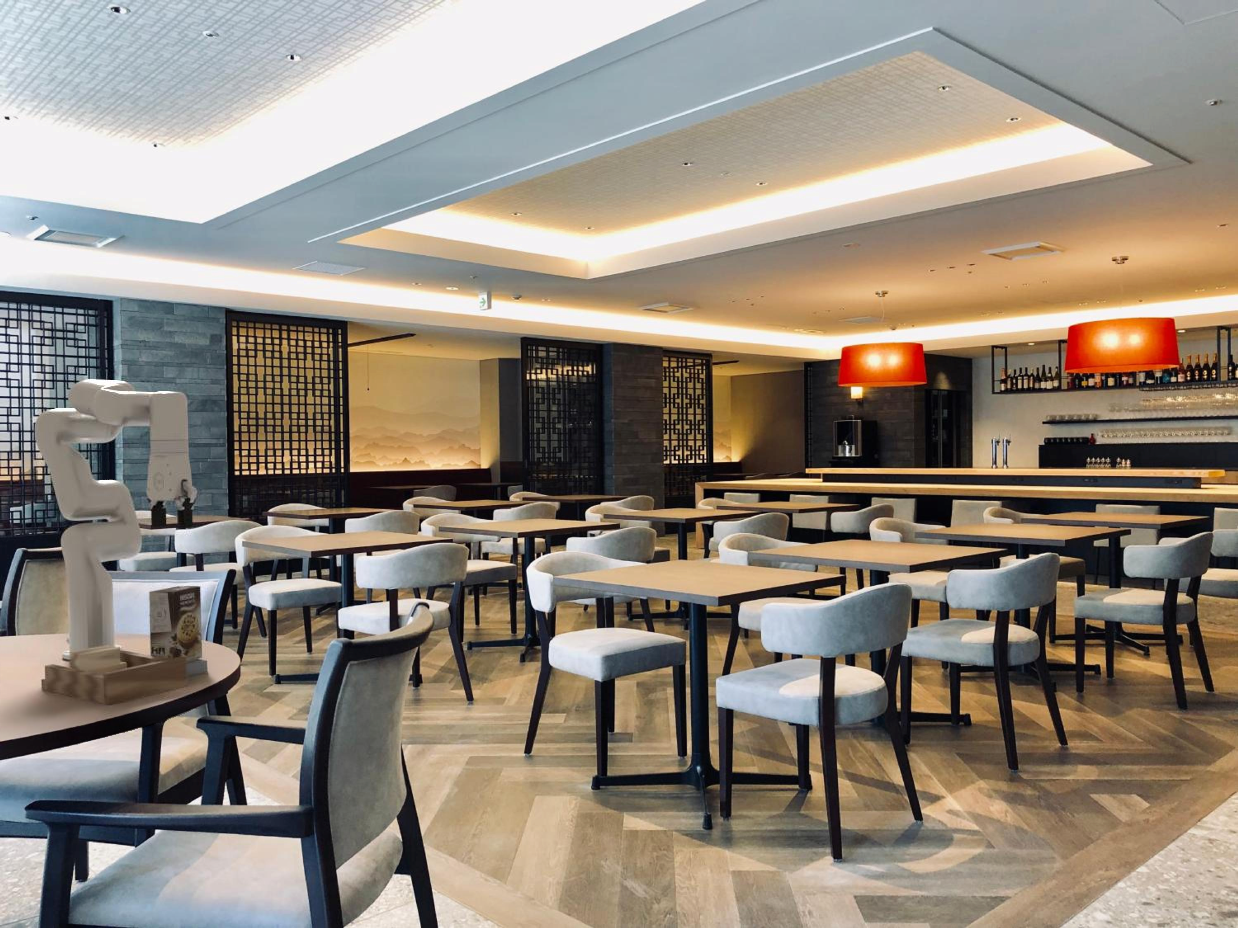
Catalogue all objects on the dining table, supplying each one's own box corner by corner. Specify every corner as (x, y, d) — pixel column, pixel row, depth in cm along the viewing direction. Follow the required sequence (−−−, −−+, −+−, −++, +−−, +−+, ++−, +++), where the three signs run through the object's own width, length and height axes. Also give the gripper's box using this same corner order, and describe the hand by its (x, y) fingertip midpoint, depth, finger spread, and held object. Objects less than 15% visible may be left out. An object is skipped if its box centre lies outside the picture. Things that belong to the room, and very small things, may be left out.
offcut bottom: (64, 688, 202) (64, 669, 202) (111, 678, 210) (110, 659, 210) (80, 692, 198) (79, 672, 198) (127, 681, 207) (126, 662, 207)
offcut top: (70, 668, 202) (69, 651, 202) (109, 660, 209) (109, 644, 209) (80, 671, 199) (79, 654, 199) (120, 664, 206) (119, 647, 205)
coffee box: (175, 667, 207) (172, 591, 206) (149, 665, 208) (147, 591, 208) (204, 657, 215) (201, 585, 215) (179, 656, 217) (177, 584, 217)
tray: (41, 688, 200) (40, 659, 200) (119, 671, 214) (118, 644, 214) (108, 705, 187) (107, 674, 186) (187, 685, 200) (186, 657, 200)
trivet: (146, 674, 211) (146, 662, 211) (180, 666, 218) (180, 655, 218) (173, 679, 206) (173, 667, 206) (207, 671, 213) (207, 660, 213)
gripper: (130, 449, 212) (133, 527, 213) (177, 448, 203) (179, 530, 204) (162, 448, 219) (165, 524, 219) (209, 448, 209) (211, 527, 210)
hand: (172, 527), depth 211 cm, fingers open, 9 cm apart
